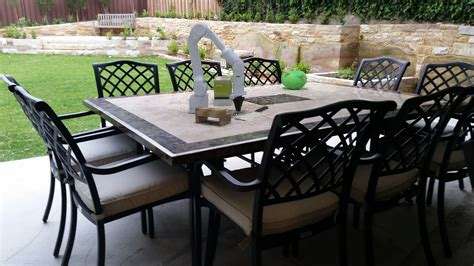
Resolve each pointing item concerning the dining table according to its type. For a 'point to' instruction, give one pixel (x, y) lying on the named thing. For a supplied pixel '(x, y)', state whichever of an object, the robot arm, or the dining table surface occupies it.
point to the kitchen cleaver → (252, 114)
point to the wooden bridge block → (212, 115)
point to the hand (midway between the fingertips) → (238, 111)
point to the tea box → (222, 91)
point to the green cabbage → (294, 78)
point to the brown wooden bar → (232, 112)
